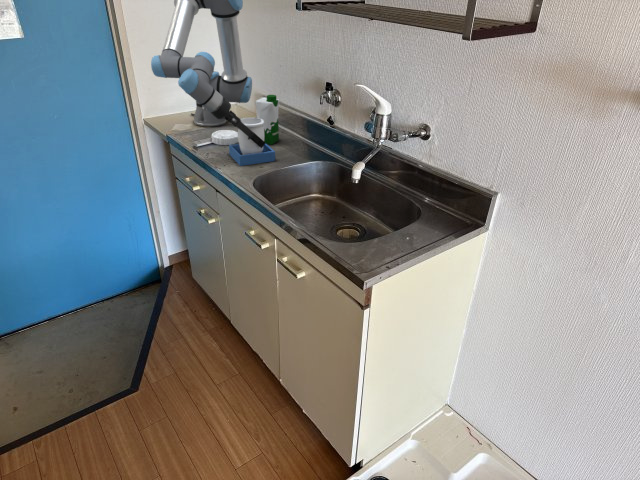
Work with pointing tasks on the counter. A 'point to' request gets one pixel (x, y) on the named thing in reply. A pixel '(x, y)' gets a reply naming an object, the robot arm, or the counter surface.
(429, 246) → the counter surface
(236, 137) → the mooncake
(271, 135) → the milk carton
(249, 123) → the jar
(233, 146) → the blue crate
